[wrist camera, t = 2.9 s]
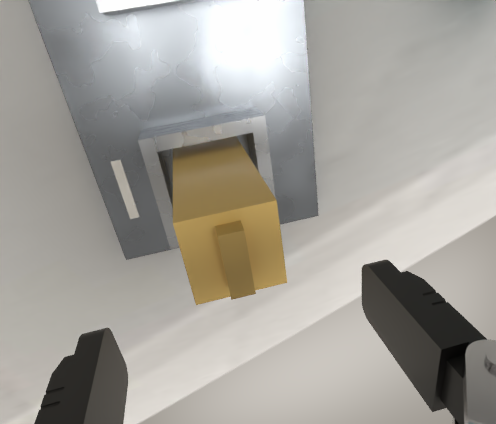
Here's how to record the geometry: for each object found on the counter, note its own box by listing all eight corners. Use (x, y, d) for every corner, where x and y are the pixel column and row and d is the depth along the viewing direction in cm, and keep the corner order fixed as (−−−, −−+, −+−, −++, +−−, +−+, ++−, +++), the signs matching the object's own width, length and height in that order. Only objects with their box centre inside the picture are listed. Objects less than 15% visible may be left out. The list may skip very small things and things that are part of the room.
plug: (235, 136, 23) (282, 209, 13) (245, 193, 24) (292, 294, 15) (172, 148, 22) (172, 233, 13) (187, 205, 24) (197, 317, 14)
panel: (278, -261, 16) (303, -332, 13) (313, 209, 27) (331, 232, 24) (-51, -231, 15) (-110, -301, 12) (127, 252, 26) (121, 281, 23)
